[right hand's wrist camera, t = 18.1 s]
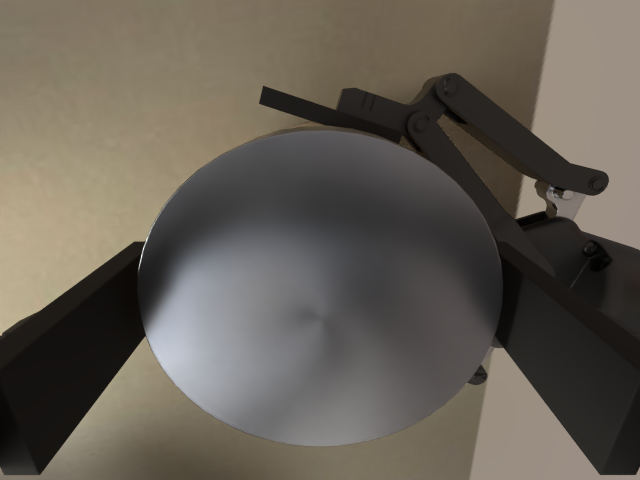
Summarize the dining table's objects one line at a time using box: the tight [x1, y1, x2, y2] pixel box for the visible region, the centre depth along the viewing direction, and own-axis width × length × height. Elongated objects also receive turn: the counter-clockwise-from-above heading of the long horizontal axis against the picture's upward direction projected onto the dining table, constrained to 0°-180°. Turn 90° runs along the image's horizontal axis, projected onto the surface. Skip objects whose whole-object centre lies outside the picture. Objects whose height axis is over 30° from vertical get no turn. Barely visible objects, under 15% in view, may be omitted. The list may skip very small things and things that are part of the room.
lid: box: [137, 126, 503, 447], centre depth 11 cm, size 11×11×2 cm
